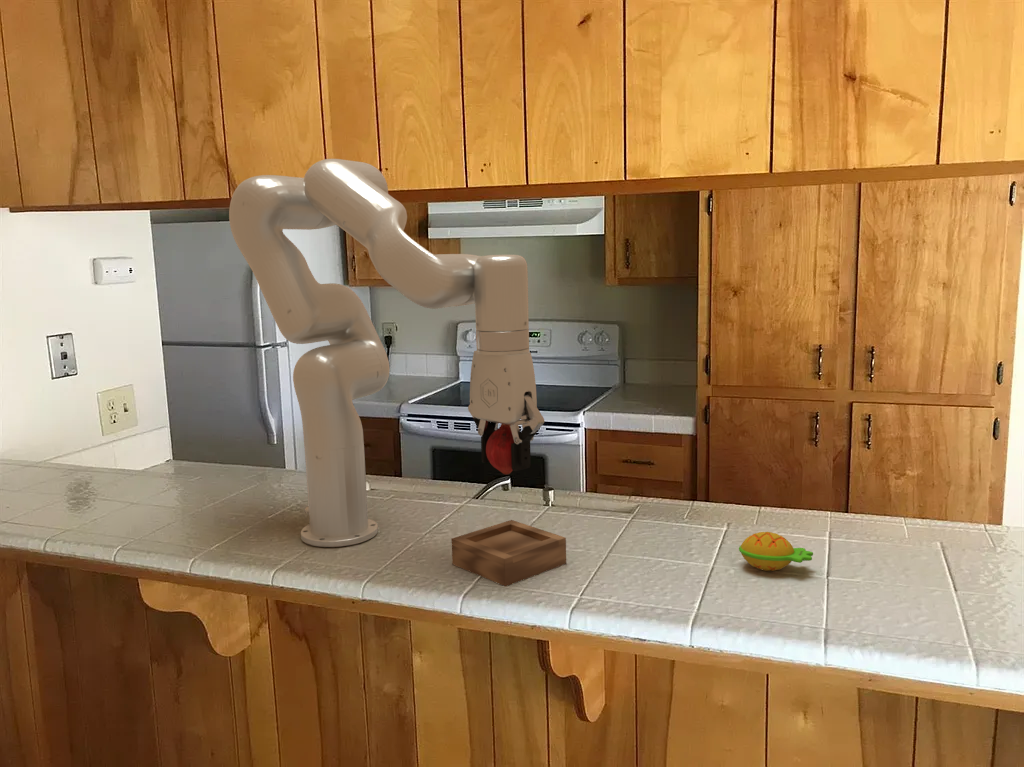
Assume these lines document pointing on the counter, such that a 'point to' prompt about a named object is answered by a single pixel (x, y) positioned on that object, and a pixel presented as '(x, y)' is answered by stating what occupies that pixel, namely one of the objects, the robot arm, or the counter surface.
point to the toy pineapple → (771, 551)
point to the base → (508, 552)
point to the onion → (500, 449)
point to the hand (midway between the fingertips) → (505, 463)
